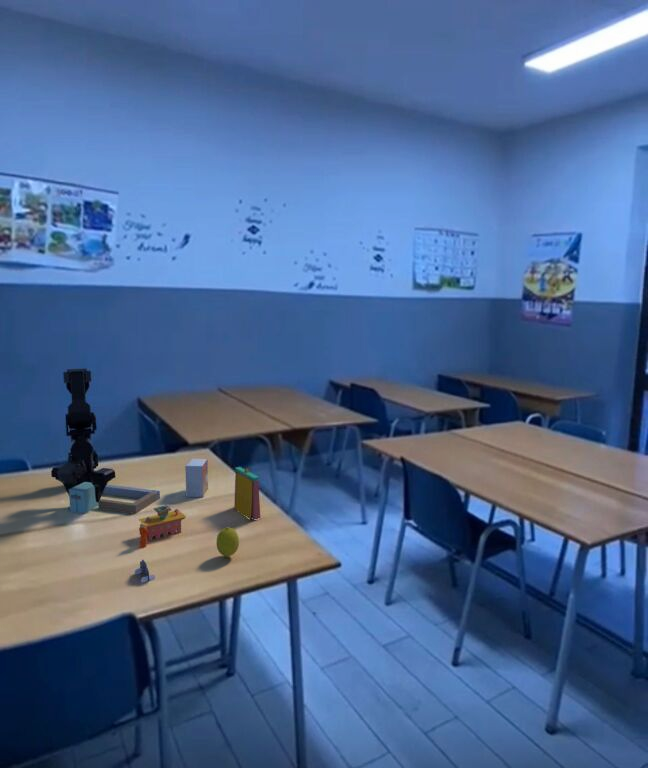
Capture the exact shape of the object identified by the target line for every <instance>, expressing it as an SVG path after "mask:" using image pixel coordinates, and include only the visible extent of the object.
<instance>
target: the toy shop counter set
mask: <svg viewBox="0 0 648 768" xmlns="http://www.w3.org/2000/svg"><path fill="white" fill-rule="evenodd" d="M234 469H235V470H234V471H235V474H234V475H235V477H234V478H235V480H234V482H235V484H234V507H233V510H234V509H235V510H234V511H236V510H237V511H239V512H240V513H242V514H243V515H245V516H247V517H248V518H250V520H253V519H258V518H260V519H261V505H260V502H261V501H260V486H259V484H260V483H259V478H260V477H259V476H258V475H256V474H255V473H252V472H251V471H249V469H248V468H247V467H246V468H243V467H242V466H238V467H234ZM153 510H154V511H155V512H156V513H157V514H155V515H152V516H147V517H144V518H139V519H138V520H139V521H140V524H139V528H138V529H139V535H140V540H139V549H144V548H147V541H152V540H153V537H154V538H155V539H160V536H161V535H162V536H163V537H164V538H165V537H167V536H168V533H169V534H170V535H171V536H173V535H175V532H176V531H177V533H178V534H180V533H182V520H185V519H186V518H187V516H186V515H185V514H184V513H182V512H181V511H180V510H179V508H176V509H174V511H172V508H170V507H169V506H168V505H161V506H156V507H153ZM237 511H236V512H237ZM239 512H238V513H239ZM240 513H239V514H240ZM242 514H241V515H242ZM243 515H242V516H243ZM245 516H244V517H245ZM248 518H247V519H248ZM251 518H253V519H251Z"/></svg>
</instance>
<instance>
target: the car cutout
mask: <svg viewBox="0 0 648 768" xmlns="http://www.w3.org/2000/svg"><path fill="white" fill-rule="evenodd" d="M149 571H150V570H149V567H148V566H147V563H146V561H145V560H144V559H143V558H142V559H141V560H140V562H139V568H136V569H135V570H134V575H138V574H142V575H143V576H142V578H141V580H140V583H141V584H142V583H145V582H150V581H152V580H155V579H156V577H155V574H150V572H149Z"/></svg>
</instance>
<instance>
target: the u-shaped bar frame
mask: <svg viewBox="0 0 648 768" xmlns="http://www.w3.org/2000/svg"><path fill="white" fill-rule="evenodd" d="M160 493H161V491H160V490H156V489H147V488H140V487H138V488H137V487H132V486H131V487H130V486H124V485H123V486H122V485H113V484H109V483H107V485H106V487H105V489H104V491H103V494H102V495H111V496H119V497H124V498H125V497H126V498H132V499H133V498H135V499H137V500H135V501H134V502H128V501H119V500H113V499H112V500H111V499H106V498H105V499H104V498H101V499H100V501H99V502H98V505H99V506H98V509H100V510H106V511H107V510H108V511H113V512H122V513H129V514H135V515H136V514H138V513H139V512H141V511H143V510H144V509H145V508H147V507H148V506H149V507H150V506H151V505H152V504H153V503H155V502H157V501H158V500H159V499H161V494H160Z"/></svg>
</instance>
